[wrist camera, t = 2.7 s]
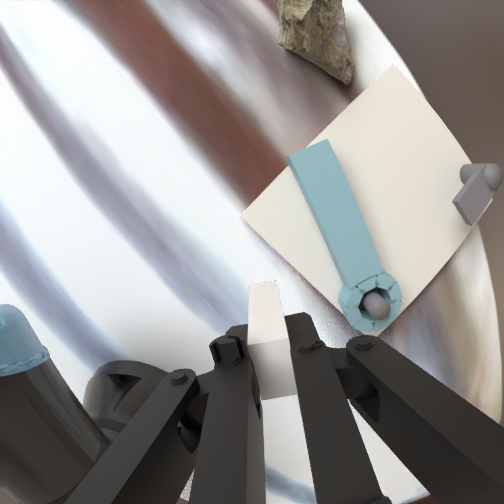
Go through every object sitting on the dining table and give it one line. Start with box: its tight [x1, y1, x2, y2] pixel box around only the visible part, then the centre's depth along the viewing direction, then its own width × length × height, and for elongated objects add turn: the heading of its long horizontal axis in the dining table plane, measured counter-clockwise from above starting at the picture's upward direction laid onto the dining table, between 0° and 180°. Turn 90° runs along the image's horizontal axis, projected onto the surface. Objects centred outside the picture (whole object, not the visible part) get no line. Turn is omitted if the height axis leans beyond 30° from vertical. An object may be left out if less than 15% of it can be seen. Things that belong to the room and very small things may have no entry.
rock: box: [277, 0, 355, 85], centre depth 21 cm, size 11×6×10 cm
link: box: [285, 139, 403, 333], centre depth 26 cm, size 18×6×2 cm, turn 27°
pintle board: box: [240, 64, 502, 337], centre depth 25 cm, size 22×19×6 cm
